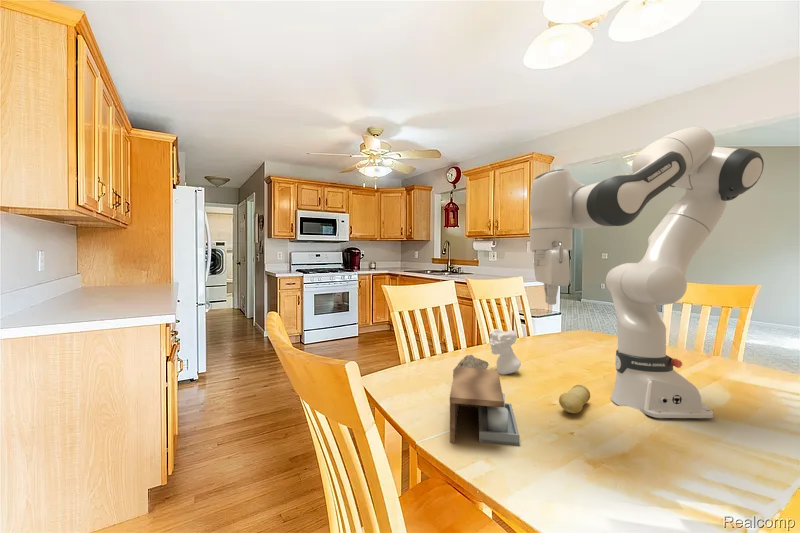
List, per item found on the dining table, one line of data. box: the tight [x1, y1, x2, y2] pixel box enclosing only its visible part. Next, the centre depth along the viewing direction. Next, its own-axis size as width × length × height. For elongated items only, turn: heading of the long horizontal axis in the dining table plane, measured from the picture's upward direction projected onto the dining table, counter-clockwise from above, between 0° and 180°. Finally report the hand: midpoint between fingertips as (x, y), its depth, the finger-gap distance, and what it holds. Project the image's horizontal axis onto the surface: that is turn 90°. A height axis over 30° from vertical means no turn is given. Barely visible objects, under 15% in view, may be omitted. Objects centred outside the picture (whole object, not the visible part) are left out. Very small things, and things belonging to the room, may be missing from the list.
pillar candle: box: [487, 406, 508, 433], centre depth 80 cm, size 4×4×5 cm
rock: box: [452, 354, 490, 379], centre depth 111 cm, size 12×7×10 cm, turn 115°
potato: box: [558, 384, 591, 414], centre depth 94 cm, size 14×5×5 cm, turn 140°
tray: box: [477, 402, 520, 447], centre depth 85 cm, size 8×17×2 cm, turn 168°
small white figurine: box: [489, 328, 522, 376], centre depth 123 cm, size 10×11×15 cm
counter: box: [449, 366, 504, 444], centre depth 86 cm, size 11×22×10 cm, turn 168°
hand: (550, 303), depth 82 cm, fingers closed
